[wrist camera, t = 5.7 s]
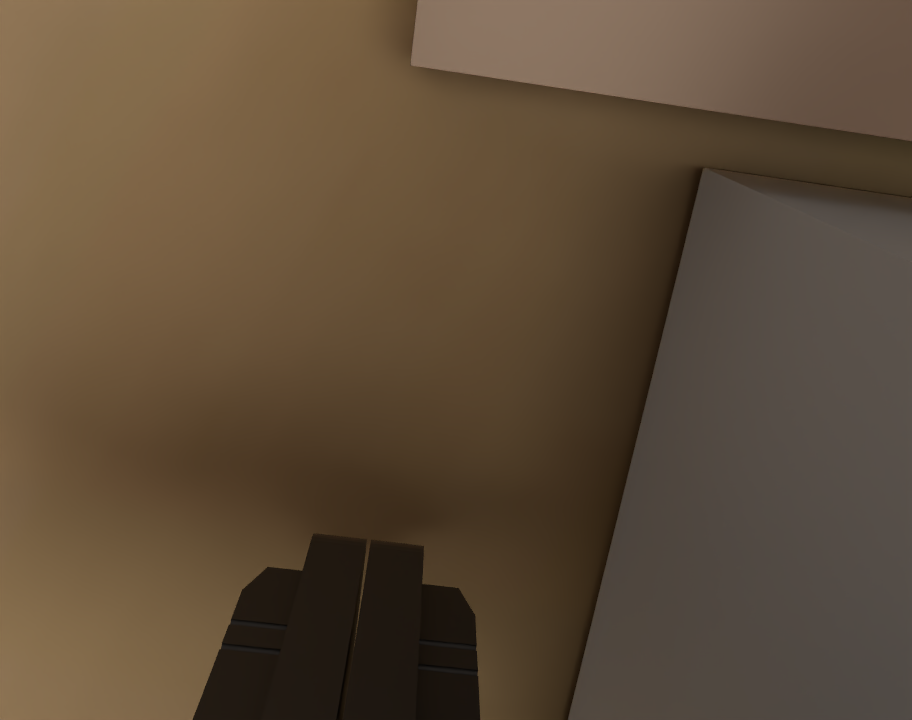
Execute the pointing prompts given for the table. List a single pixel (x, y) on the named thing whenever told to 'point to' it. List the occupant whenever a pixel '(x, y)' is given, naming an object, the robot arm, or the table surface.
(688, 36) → the bar
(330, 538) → the robot arm
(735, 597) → the grey storage bin
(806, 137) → the table surface
